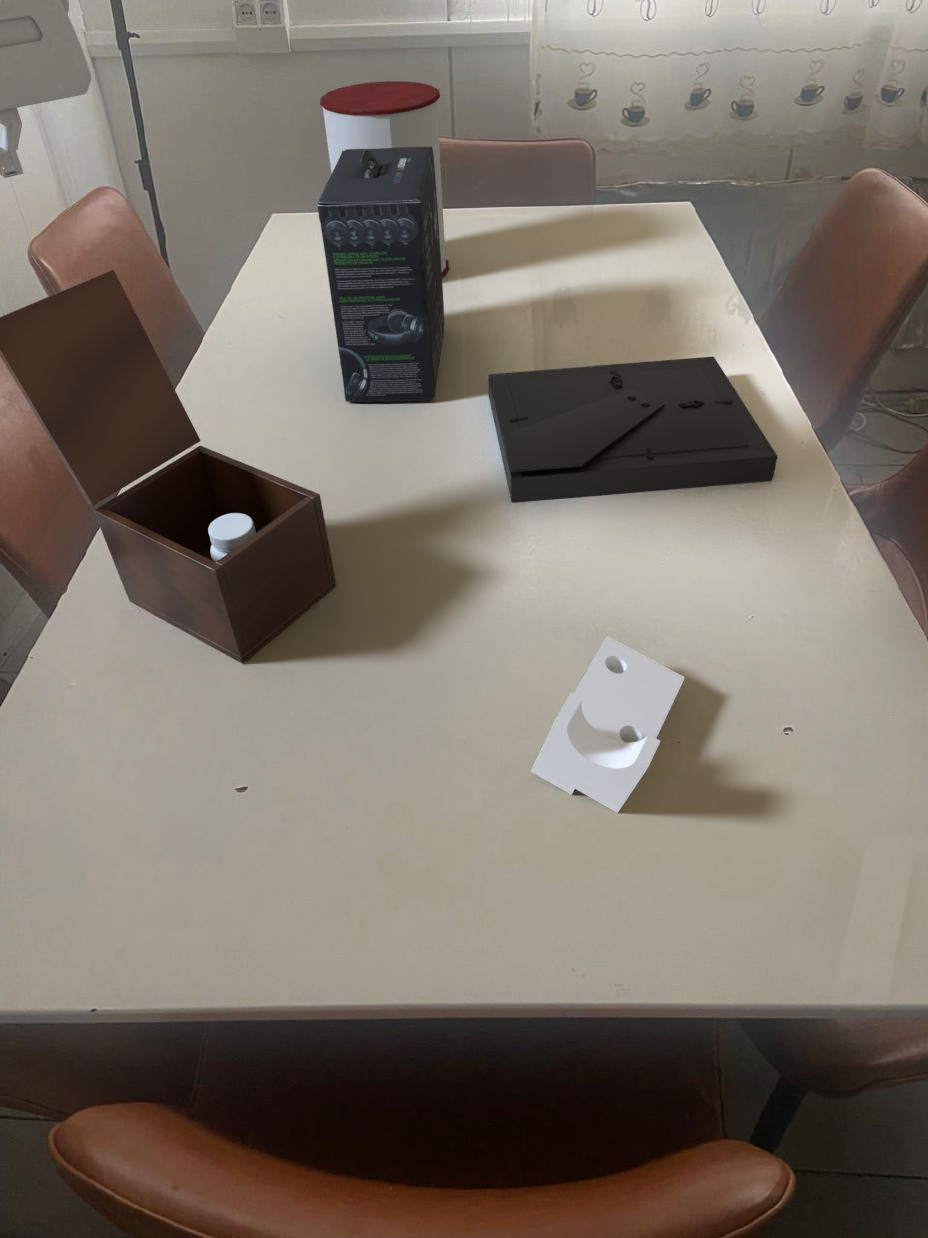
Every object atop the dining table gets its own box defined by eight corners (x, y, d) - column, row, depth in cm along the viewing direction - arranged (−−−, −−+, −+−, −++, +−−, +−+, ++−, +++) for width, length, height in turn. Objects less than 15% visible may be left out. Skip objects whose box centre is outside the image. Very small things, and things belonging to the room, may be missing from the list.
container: (373, 245, 152) (355, 78, 136) (466, 256, 147) (459, 83, 130) (323, 283, 141) (296, 106, 124) (421, 297, 135) (407, 113, 119)
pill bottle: (281, 582, 86) (264, 510, 80) (268, 615, 82) (249, 542, 77) (233, 580, 86) (213, 509, 81) (218, 613, 83) (196, 541, 77)
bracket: (613, 818, 66) (648, 767, 61) (530, 771, 68) (556, 716, 62) (669, 702, 75) (704, 647, 69) (594, 661, 76) (622, 604, 70)
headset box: (363, 327, 129) (339, 129, 111) (446, 325, 128) (435, 125, 111) (342, 405, 112) (310, 187, 95) (437, 403, 112) (422, 183, 94)
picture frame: (511, 502, 95) (772, 480, 96) (511, 469, 92) (780, 447, 93) (488, 396, 112) (710, 378, 113) (487, 365, 109) (715, 347, 110)
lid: (113, 268, 77) (109, 270, 78) (-15, 323, 70) (-20, 324, 71) (201, 440, 85) (196, 441, 86) (93, 505, 78) (89, 505, 78)
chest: (336, 586, 86) (320, 494, 79) (243, 664, 79) (214, 570, 72) (225, 534, 93) (200, 445, 86) (129, 601, 86) (93, 510, 78)
